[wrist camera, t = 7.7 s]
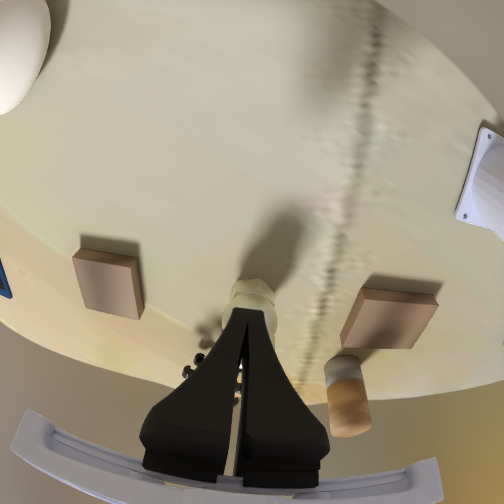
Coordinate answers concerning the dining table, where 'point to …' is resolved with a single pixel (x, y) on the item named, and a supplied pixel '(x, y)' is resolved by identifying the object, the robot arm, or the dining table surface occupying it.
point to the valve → (249, 297)
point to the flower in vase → (21, 47)
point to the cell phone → (4, 284)
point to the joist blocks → (353, 334)
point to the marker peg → (346, 397)
